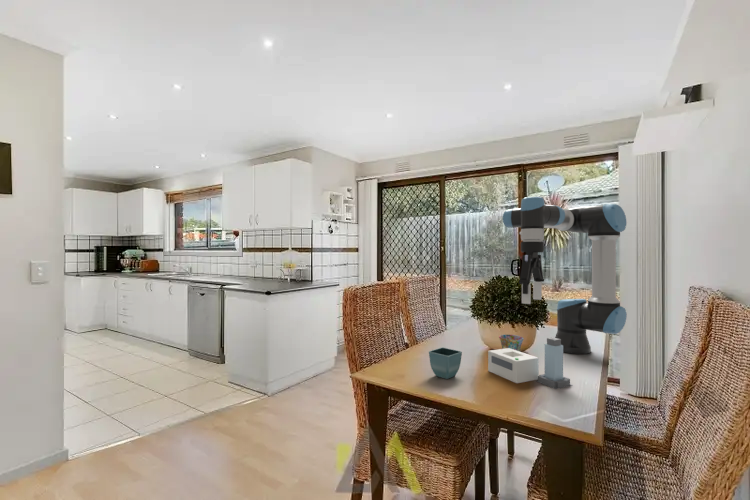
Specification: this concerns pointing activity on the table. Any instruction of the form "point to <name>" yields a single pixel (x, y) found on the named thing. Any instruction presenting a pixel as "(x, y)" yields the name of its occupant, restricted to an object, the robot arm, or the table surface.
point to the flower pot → (445, 362)
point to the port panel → (513, 365)
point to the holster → (554, 382)
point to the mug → (511, 341)
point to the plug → (554, 359)
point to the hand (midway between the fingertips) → (531, 301)
